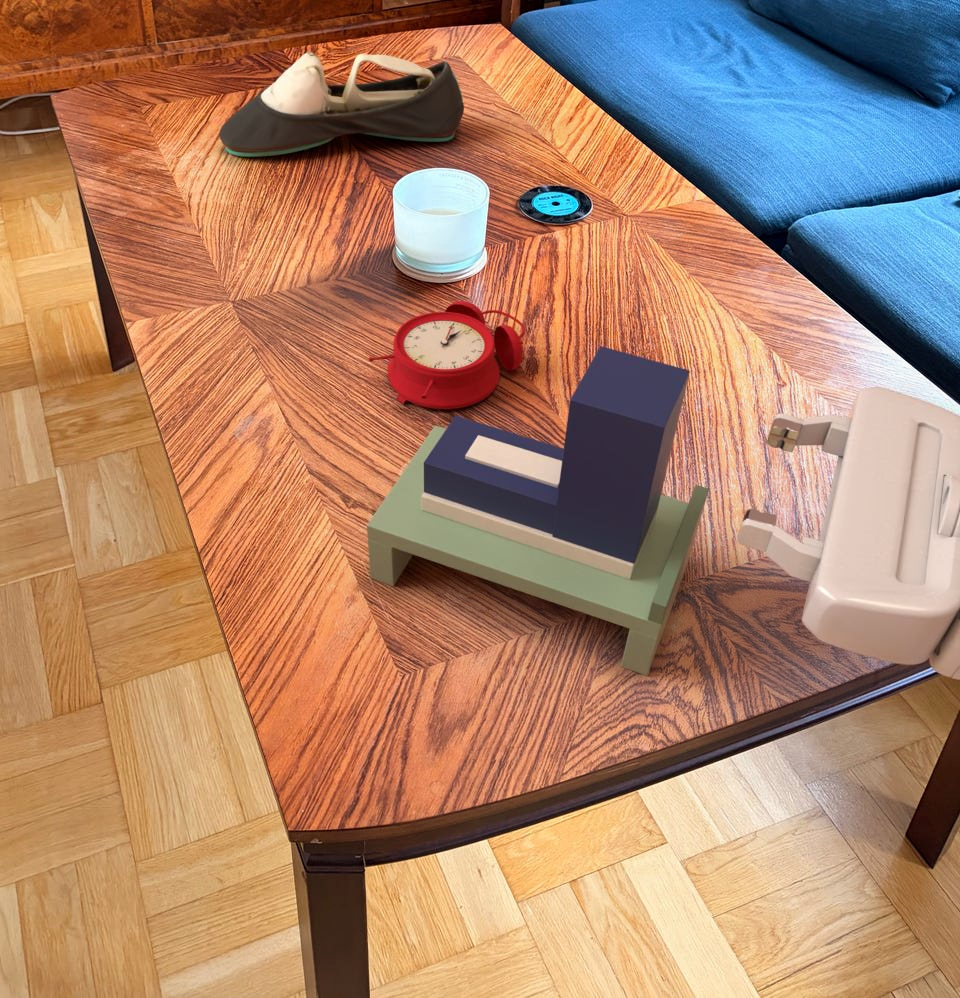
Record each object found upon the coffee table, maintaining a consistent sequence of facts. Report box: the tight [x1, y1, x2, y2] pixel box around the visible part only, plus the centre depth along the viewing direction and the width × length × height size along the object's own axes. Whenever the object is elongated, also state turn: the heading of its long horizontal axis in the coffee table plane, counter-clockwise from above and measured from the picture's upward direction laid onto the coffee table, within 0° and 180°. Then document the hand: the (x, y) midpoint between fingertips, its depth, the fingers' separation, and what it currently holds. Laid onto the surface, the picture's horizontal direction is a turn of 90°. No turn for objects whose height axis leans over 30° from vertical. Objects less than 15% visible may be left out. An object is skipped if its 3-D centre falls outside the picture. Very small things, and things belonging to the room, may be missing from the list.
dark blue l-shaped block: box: [422, 345, 691, 580], centre depth 68 cm, size 16×6×14 cm, turn 67°
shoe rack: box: [366, 425, 710, 677], centre depth 75 cm, size 22×12×8 cm, turn 67°
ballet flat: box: [218, 51, 465, 158], centre depth 123 cm, size 10×30×10 cm, turn 106°
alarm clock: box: [368, 300, 526, 410], centre depth 93 cm, size 10×6×15 cm
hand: (756, 474), depth 62 cm, fingers open, 8 cm apart
